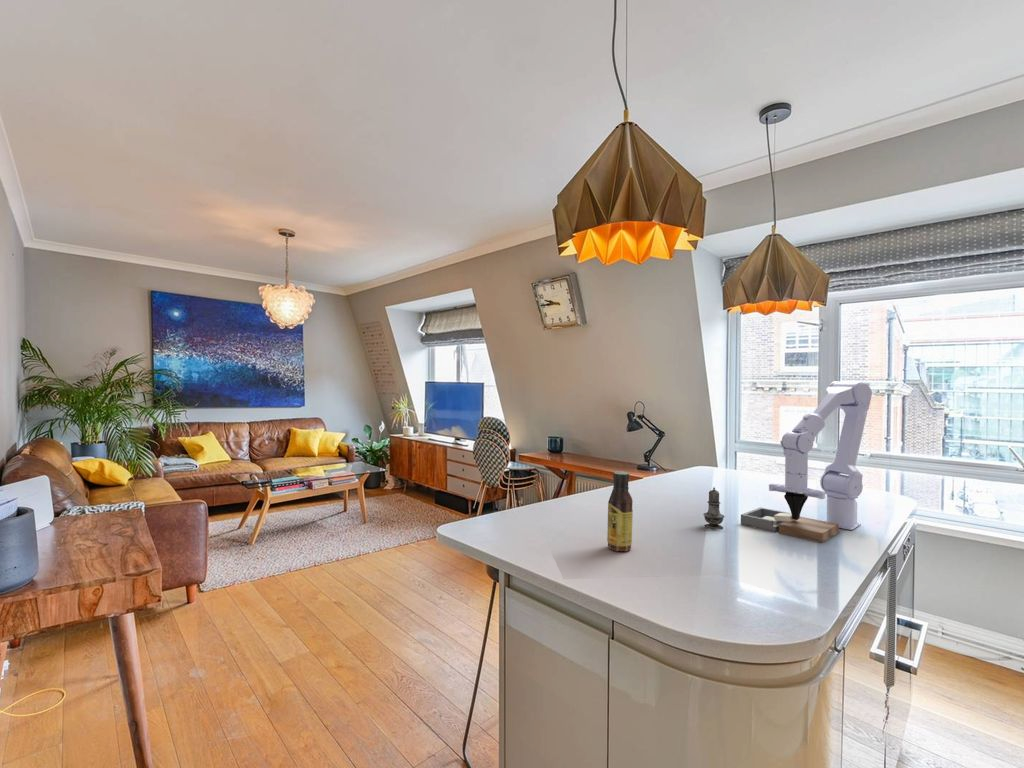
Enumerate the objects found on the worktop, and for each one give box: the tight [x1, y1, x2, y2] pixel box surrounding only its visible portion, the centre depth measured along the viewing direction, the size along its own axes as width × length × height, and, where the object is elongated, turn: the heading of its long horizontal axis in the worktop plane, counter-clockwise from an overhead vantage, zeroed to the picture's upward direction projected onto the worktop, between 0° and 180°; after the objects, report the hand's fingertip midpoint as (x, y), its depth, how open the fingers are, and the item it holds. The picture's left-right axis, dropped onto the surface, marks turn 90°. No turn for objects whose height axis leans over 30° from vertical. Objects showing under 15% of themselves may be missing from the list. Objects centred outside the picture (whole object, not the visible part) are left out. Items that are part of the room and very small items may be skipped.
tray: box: [740, 507, 791, 533], centre depth 151 cm, size 14×10×3 cm
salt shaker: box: [702, 487, 725, 530], centre depth 147 cm, size 6×6×12 cm
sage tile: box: [763, 516, 782, 526], centre depth 150 cm, size 4×4×2 cm
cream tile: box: [774, 512, 794, 522], centre depth 147 cm, size 4×4×2 cm
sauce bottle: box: [606, 470, 634, 553], centre depth 127 cm, size 6×6×20 cm
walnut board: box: [778, 516, 840, 543], centre depth 142 cm, size 14×11×2 cm
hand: (795, 519), depth 145 cm, fingers closed
